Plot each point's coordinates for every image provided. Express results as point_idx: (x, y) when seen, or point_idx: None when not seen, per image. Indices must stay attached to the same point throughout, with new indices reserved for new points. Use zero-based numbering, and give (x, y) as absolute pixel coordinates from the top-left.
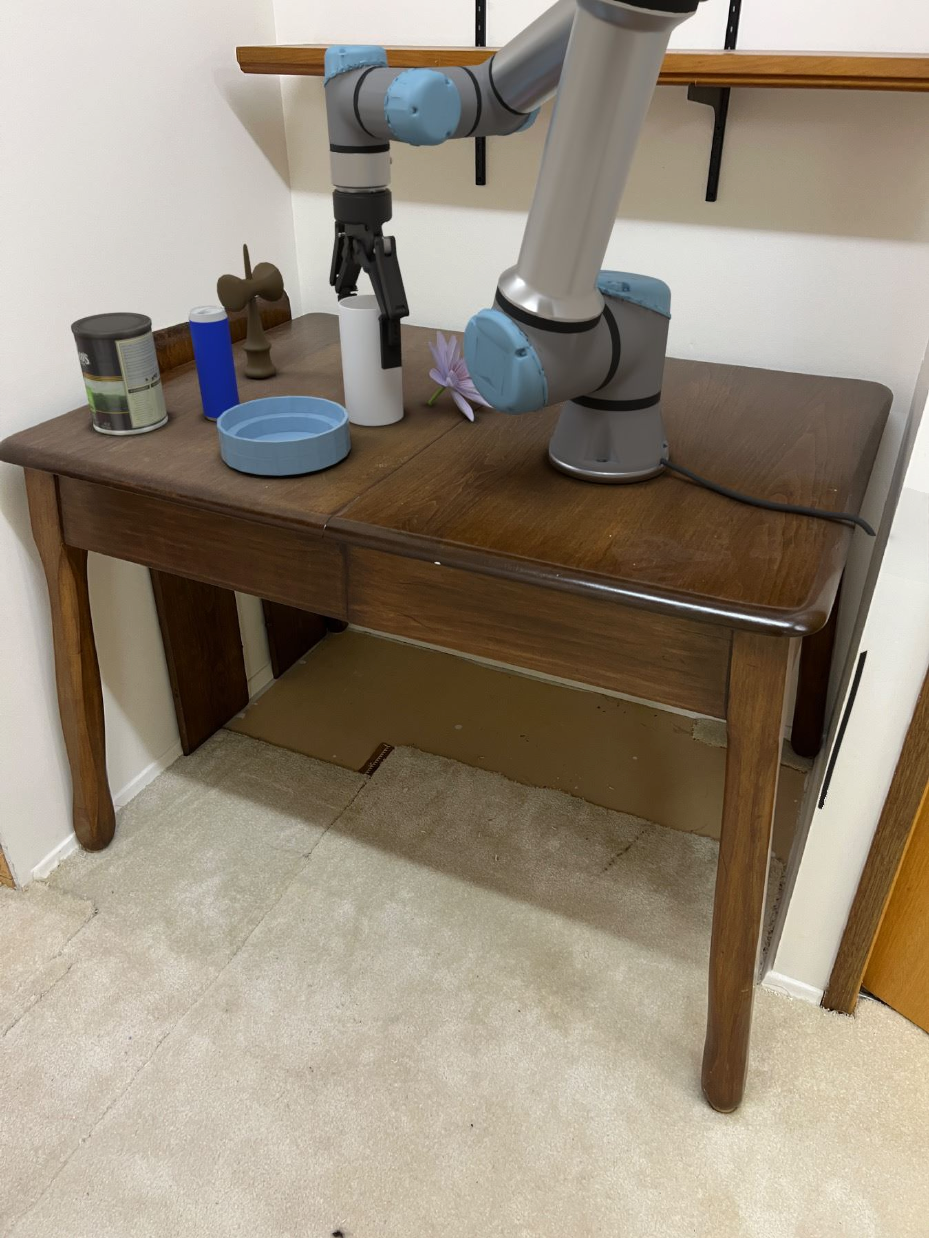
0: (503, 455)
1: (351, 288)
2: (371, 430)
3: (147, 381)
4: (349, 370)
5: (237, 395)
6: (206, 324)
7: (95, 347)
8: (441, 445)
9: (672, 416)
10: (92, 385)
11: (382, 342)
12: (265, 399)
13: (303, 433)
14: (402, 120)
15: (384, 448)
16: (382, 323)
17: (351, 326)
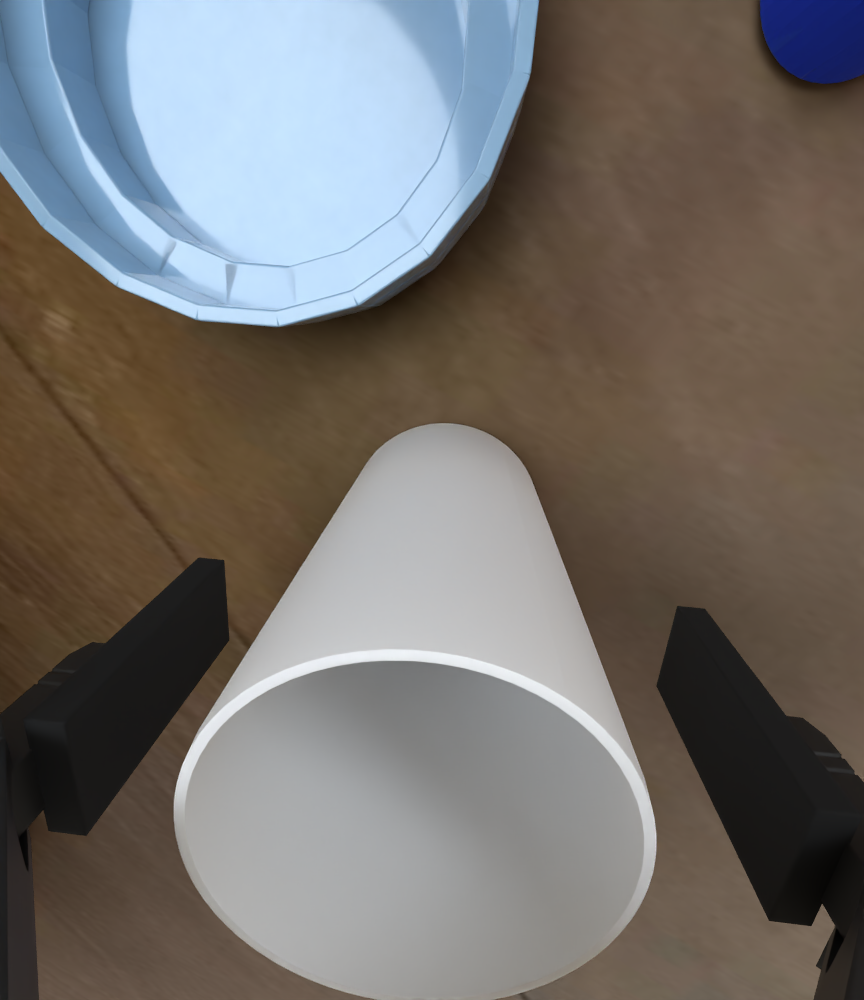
0: (9, 626)
1: (835, 949)
2: (338, 443)
3: None
4: (404, 478)
5: (828, 27)
6: None
7: None
8: (133, 544)
9: (87, 981)
10: None
11: (125, 628)
12: (516, 31)
13: (396, 206)
14: None
15: (181, 400)
16: (39, 707)
17: (321, 590)
